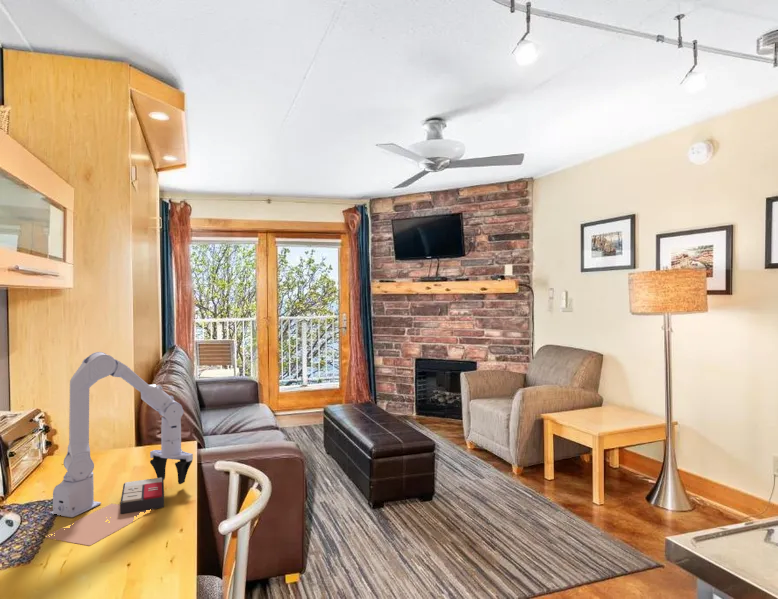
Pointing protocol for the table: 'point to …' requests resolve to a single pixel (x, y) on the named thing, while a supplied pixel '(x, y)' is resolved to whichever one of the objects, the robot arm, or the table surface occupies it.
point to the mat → (95, 526)
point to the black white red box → (142, 495)
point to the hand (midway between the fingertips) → (171, 481)
